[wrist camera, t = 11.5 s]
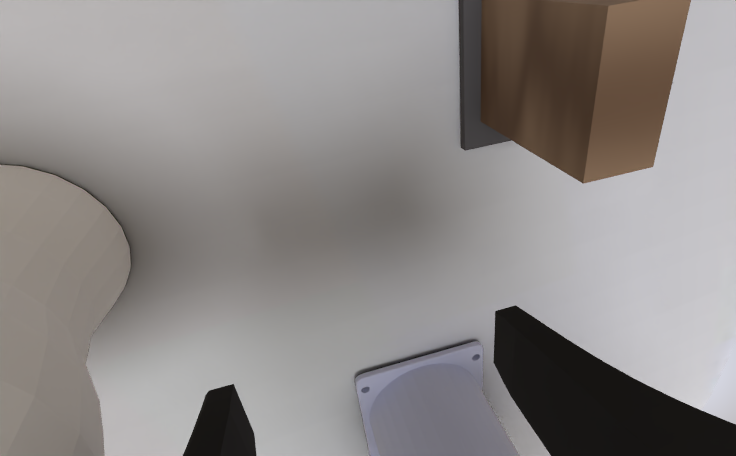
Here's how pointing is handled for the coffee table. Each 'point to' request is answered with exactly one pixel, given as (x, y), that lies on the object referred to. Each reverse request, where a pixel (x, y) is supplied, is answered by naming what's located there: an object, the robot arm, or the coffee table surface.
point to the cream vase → (53, 311)
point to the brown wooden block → (581, 79)
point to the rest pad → (472, 79)
